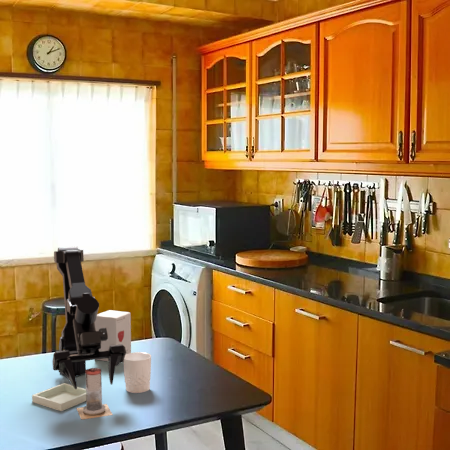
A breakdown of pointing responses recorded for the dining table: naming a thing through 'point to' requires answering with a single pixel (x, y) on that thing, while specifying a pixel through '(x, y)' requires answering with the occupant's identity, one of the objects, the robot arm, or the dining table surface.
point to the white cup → (137, 372)
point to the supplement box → (115, 329)
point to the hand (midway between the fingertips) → (94, 386)
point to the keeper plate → (106, 413)
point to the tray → (60, 397)
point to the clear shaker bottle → (93, 393)
